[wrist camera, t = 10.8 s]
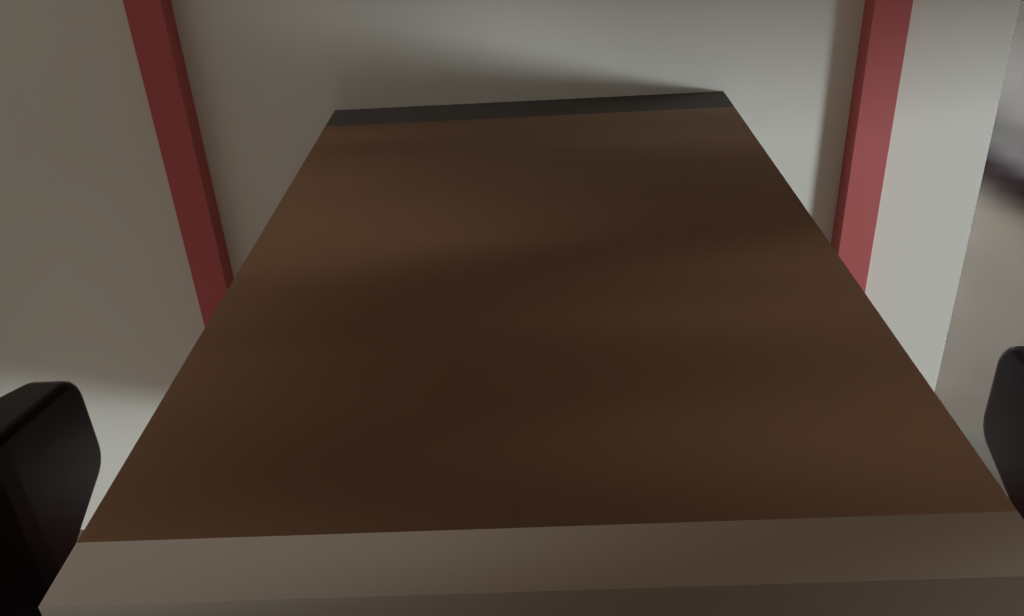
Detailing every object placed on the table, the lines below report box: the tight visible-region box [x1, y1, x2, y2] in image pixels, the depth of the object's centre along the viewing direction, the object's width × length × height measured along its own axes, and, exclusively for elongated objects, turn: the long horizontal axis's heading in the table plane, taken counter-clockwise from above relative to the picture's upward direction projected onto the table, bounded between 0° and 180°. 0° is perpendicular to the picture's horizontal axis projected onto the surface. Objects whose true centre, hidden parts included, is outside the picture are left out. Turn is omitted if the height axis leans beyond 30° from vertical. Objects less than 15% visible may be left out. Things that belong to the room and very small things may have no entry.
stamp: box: [38, 91, 1024, 616], centre depth 8 cm, size 4×4×7 cm
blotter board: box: [0, 0, 1022, 530], centre depth 11 cm, size 22×8×2 cm, turn 93°
